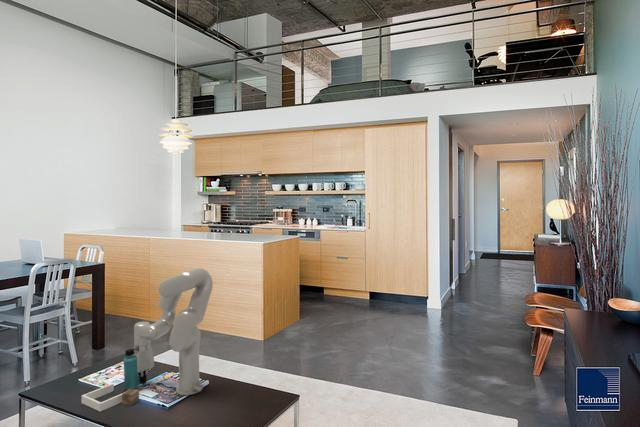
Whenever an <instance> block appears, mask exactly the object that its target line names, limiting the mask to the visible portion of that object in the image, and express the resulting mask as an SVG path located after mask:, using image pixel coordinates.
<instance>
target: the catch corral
mask: <svg viewBox="0 0 640 427" xmlns="http://www.w3.org/2000/svg"><path fill="white" fill-rule="evenodd" d="M114 385H115V384H114V383H110V384H107V385H105V386H103V387H99V388H98V389H95V390H92V391H89V392H88V393H84V394H82V395H81V396H80V397H81V398H80V399H81V404H82V405H85V406H86V407H89V408H91V409H93V410H96V411H98V412H100V413H101V412H102V411H105V410H108V409H110V408H112V407H115V406H116V405H118V404H121V403H122V394H123V393H124V392H123V393H120V394H118V395H116V396H113V397H110V398H108V399H106V400H104V401H99V400H96V399H98V398H100V397H103V396H105V395H108V394H109V393H112V392H114V391H115V390H114V388H115V386H114Z"/></svg>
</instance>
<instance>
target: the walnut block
mask: <svg viewBox="0 0 640 427" xmlns="http://www.w3.org/2000/svg"><path fill="white" fill-rule="evenodd" d="M121 394H122V393H121ZM139 401H140V390H139V389H136V388H135V389H126V391H124V392H123V394H122V402H121V403H122V405H126V406H133V405H135V404H136V403H137V402H139Z"/></svg>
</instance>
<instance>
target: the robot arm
mask: <svg viewBox="0 0 640 427" xmlns="http://www.w3.org/2000/svg"><path fill="white" fill-rule="evenodd" d="M213 284H214V283H213V278H212V276H211V275H210V273H209V272H208V271H207V270H206V269H204V268H194V269H193V268H192V269H190V270H187V271H185V272H182V273H180V274H177V275H174V276H171V277H169V278H166V279H164V280H162V281H161V282H160V283H159V285H158V289H157V290H158V293H159V295H160V298H159V301H158V302H157V303H158V307H159V308H160V309H161V310H162V313H161V315H160V317H159V320H158V321H155V322H154V323H152V324H151V323H150V322H149V321H139V322H136V323H135V324H134V327H133V338H134V339H133V341H134V342H133V343H134V344H133V347H132V348H131V349H134V356H136V357H137V371H138V373H139V374H138V376H139V384H142V385H144V384H147V376H148V374H149V372H150V370H151V369H153V368H154V366H155V357H154V356H155V355H154V350H153V347H152V346H151V341H155V340H157V339H159V338H161V337H162V336H165V335H166V334H168V333H169V331H171V333H170V335H169V340H168V341H169V342H168V344H169V347H170V349H171V350H172V351H174V352H177V353H178V384H179V385H178V386H177V387H176V388H175V393H176V394H178V395H181V396H192V395H194V394H197V393H200V392H201V391H202V390H203V388H204V387H205V386H204V385H203V383H202V382H201V380H200V346H201V344H200V343H201V338H202V336H201V335H202V334H201V329H200V328H199V327H198V326H199V325H200V324H201V323H202V322H203V320H204V318H205V315H206V311H207V308H208V305H209V304H208V303H209V300H210V297H211V294H212V291H213ZM192 289H194V291H192V294H191V297H190V300H189V302H188V306H187V307H186V308H184V309H182V310H181V311H179V312H178V314H176V307H177V306H178V303H179V301H180V298H181V296H182V295H183V293H185V292H187V291H189V290H192Z"/></svg>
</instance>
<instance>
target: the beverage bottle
mask: <svg viewBox="0 0 640 427" xmlns="http://www.w3.org/2000/svg"><path fill="white" fill-rule="evenodd" d="M124 355H125V357H124V358H123V360H122V361H123V376H124V377H123V380H124V382H123V383H124V387H125V390H128V389H136V388H138V387H139V385H140V382H139V375H138V374H139V373H138V371H137V357H136V356H134V349H132V348H129V349H126V350H125V352H124Z"/></svg>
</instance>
